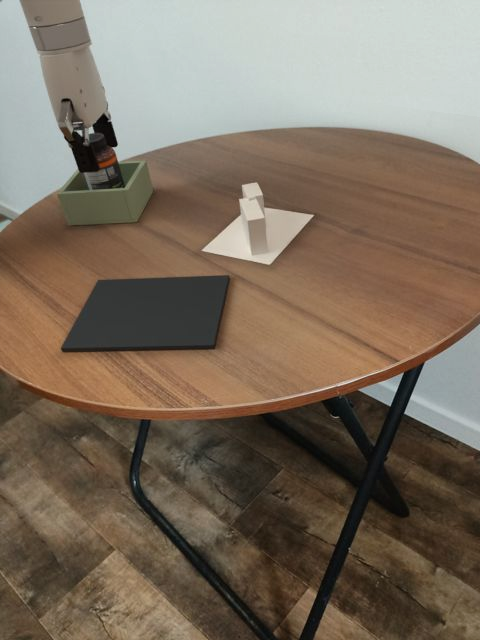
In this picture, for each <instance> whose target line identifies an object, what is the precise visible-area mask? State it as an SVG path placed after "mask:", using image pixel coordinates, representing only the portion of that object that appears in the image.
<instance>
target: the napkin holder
mask: <svg viewBox="0 0 480 640" xmlns="http://www.w3.org/2000/svg"><path fill="white" fill-rule="evenodd" d="M241 191H242V192H241V193H242V198H238V200H239V210H240V215H239V216H237V217H236V218H235V219H234V220H233V221H232V222H231V223H230V224H229V225H228V226H227V227H225V228H224V229H223V230H222V231H220V233H219V234H218V235H216V237H214V238H213V239H212V240H211V241H210V242H209V243H208V244H206V245H205V246H204V247H203V248H202V249H201V250H200V251H201V252H204V253H210V254H215V255H220V256H224V257H230V258H234V259H238V260H243V261H247V262H255V263H257V264H258V263H259V264H263V265H268V266H270V265H271V264H272V263H273V262H275V260H276V259H277V257H279V255H280V254H281V253H282V252H283V251H284V250H285V249H286V248H287V247H288V245H289V244H290V243H291V242H292V241H293V240H294V239H295V237H296V236H298V234H299V233H300V232H301V231H302V230H303V228H304V227H305V226H306V225H308V223H309V222H310V221H311V220H312V218H313V217H314V216H315V214H310V213H309V214H308V213H303V212H296V211H290V210H284V209H278V208H271V207H265V204H264V203H265V202H264V194H263V191H262V189H261V187H260V186H259V184H258V182H251V183H244V184H241Z"/></svg>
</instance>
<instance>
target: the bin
mask: <svg viewBox="0 0 480 640" xmlns="http://www.w3.org/2000/svg"><path fill="white" fill-rule="evenodd" d="M118 163H119V167H120V170H121V174H122V177H123V181H124V184H125V188H117V189H99V190H88V187H87V185H86V182H85V179H84V176H83V173H81V172H79V170H78V168H77V169H76V170H75V171H74V172H73V174H72V175H71V176H70V177H69V178H68V180H67V181H66V182H65V183H64V184H63V186H61V188H60V189H59V190H58V192H57V193H56V196H57V198H58V201H59V204H60V207H61V209H62V212H63V215H64V217H65V220H66V223H67V225H68V227H69V226H86V225H89V226H90V225H107V224H108V225H109V224H128V223H137V222H138V221H139V219H140V217H141V216H142V213H143V212H144V210H145V208H146V206H147V204H148V202H149V200H150V198H151V197H152V195H153V193H154V187H153V183H152V179H151V175H150V171H149V166H148V162H147V160H130V161H118Z"/></svg>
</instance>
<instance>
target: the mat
mask: <svg viewBox="0 0 480 640" xmlns="http://www.w3.org/2000/svg"><path fill="white" fill-rule="evenodd" d="M230 279H231V278H230V275H229V274H224V275H222V274H221V275H197V276H196V275H194V276H193V275H192V276H166V277H141V278H138V277H137V278H115V279H97V281H96V282H95V285H94V287H93V288H92V290H91V291H90V293H89V296H88V297H87V299H86V301H85V302H84V305H83V307H82V308H81V310H80V312H79V313H78V315H77V318H76V320H75V321H74V323H73V325H72V326H71V329H70V331H69V332H68V334H67V336H66V337H65V339H64V341H63V343H62V345H61V347H60V350H61V352H62V353H66V352H67V353H74V352H113V351H114V352H116V351H119V352H121V351H122V352H123V351H125V352H126V351H167V350H168V351H169V350H170V351H171V350H172V351H173V350H214V349H215V348H216V343H217V338H218V335H219V329H220V325H221V321H222V315H223V312H224V306H225V303H226V297H227V293H228V287H229V283H230Z"/></svg>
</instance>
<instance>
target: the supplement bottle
mask: <svg viewBox="0 0 480 640" xmlns="http://www.w3.org/2000/svg"><path fill="white" fill-rule="evenodd" d="M89 144H92V145H93V148H94V151H95V154H96V157H97V160H98V164H99V167H100V170H99V171H98V172H87V173H83V176H84V179H85V182H86V185H87V187H88V190H99V189H117V188H125V184H124V181H123V177H122V174H121V170H120V167H119V163H118V162H119V161H118V156H117V154H116V151H115V149H114V147H113V148H111V147H110V146H108V145H107V144H106V140H105V137H104V135H103V134H101V133H94V132H92V133H89Z"/></svg>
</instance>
